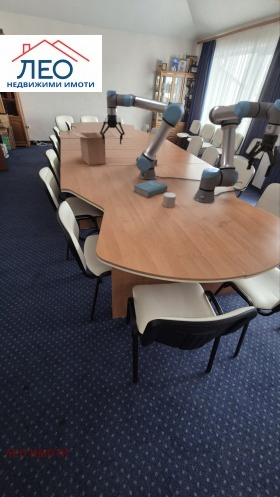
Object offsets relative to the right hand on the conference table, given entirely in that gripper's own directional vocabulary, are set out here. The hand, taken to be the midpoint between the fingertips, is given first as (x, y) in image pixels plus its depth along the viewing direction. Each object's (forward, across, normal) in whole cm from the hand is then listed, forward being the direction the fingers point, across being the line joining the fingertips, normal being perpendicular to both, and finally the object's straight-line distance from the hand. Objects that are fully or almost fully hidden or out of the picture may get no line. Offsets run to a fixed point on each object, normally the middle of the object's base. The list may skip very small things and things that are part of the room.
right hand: (256, 173), depth 132 cm
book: (+30, -59, -39) cm, 77 cm away
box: (+30, -151, -62) cm, 167 cm away
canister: (+30, -33, -38) cm, 59 cm away
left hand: (+3, -100, -58) cm, 116 cm away
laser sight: (+30, -129, -10) cm, 133 cm away
